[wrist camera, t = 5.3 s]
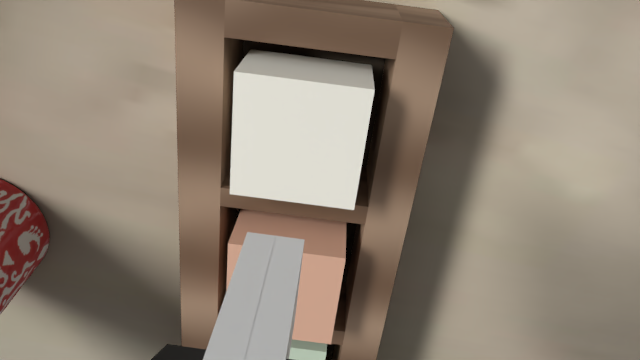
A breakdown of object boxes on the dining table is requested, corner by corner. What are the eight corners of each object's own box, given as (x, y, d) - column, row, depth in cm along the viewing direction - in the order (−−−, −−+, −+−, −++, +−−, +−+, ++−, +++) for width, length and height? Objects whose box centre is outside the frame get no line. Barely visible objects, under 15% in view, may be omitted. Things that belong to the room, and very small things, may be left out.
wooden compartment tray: (202, -21, 23) (174, -9, 20) (437, 9, 23) (454, 28, 20) (201, 370, 35) (183, 423, 32) (355, 390, 36) (355, 445, 32)
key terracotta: (243, 203, 26) (228, 243, 23) (346, 216, 26) (345, 258, 23) (239, 284, 29) (224, 330, 25) (333, 296, 29) (331, 344, 25)
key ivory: (250, 49, 22) (233, 71, 19) (371, 64, 22) (374, 89, 19) (245, 158, 25) (229, 194, 22) (354, 172, 25) (354, 209, 22)
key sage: (243, 296, 31) (231, 339, 28) (329, 307, 31) (326, 352, 28) (240, 358, 34) (228, 403, 31) (319, 368, 34) (315, 414, 31)
